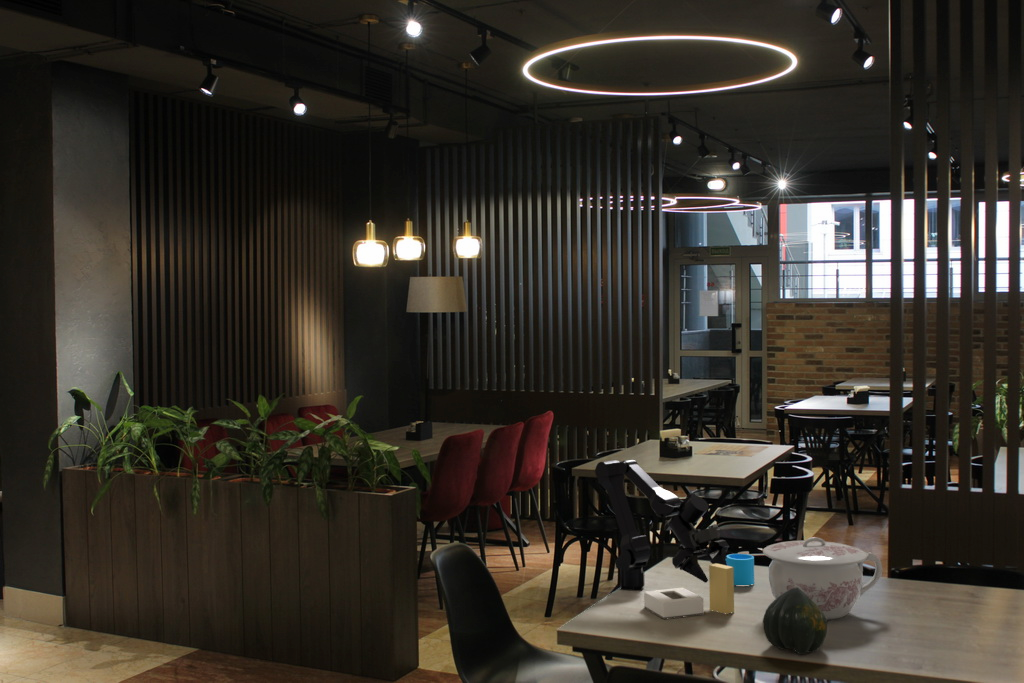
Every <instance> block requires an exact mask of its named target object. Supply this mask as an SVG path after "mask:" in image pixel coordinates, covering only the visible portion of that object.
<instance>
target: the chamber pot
mask: <svg viewBox="0 0 1024 683" xmlns="http://www.w3.org/2000/svg"><path fill="white" fill-rule="evenodd" d="M762 554H763V555H765V556H766V557H768V558H769V559H771V561H770V564H769V566H768V581H769V585H770V589H771V594H772V595H773V597H774V600H775V599H776V598H777V597H779V596H780V595H782V594H783V593H785V592H786V591H788V590H790V589H792V588H796V587H798V588H799V589H801V590H802V591H803V592H804V593H805V594H806V595H807V596H808V597H809V598H810V599H811V600H812V601H813V602H814V603H815V604H816V605H817V606H818V607H819V608H820V609H821V610H822V612H823V613H824V615H825V617H826V621H830V620H836V619H840V618H842V617H846V616H847V615H848V614H849V613H850V612H851V611H852V610H853V608H854V606H855V605H856V603H857V602H858V600H859V599H860V598H861V597H862V596H863V595H864V594H865V593H866V592H868V591H869V590H870V589H871V588H873V587H874V586H875V585H876V584H877V583H878V582H879V580H880V579H881V577H882V574H883V564H882V562H881V560H880V558H879V557H878V556H877V554H875V553H872V552H866V550H865V551H864V550H862V549H861V548H858V547H855V546H852V545H848V544H845V543H840V542H833V541H825V539H823V538H820V537H815V536H814V537H809V538H807V539H806V540H790V541H789V540H788V541H781V542H777V543H773V544H770V545H766V547H764V548H763V549H762ZM867 561H871V562H874V567H875V568H874V569H875V571H874V574H873V576H872V577H871V578H870V579H869V580H868V582H866V583H865V584H863V583H864V582H863V580H864V579H863V578H864V577H863V575H864V574H863V572H864V567H863V566H864V563H865V562H867Z"/></svg>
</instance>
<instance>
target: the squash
mask: <svg viewBox="0 0 1024 683" xmlns="http://www.w3.org/2000/svg"><path fill="white" fill-rule="evenodd" d="M762 620H763V621H762V626H763V631H764V635H765V638H766V639H767V641H769V643H770V645H772V646H773V647H774V648H777V649H781V648H783V649H790V650H791V649H794V651H795V652H796V653H797V654H799V655H804V654H806V653H807V652H809V653H811V652H815V651H817V650H818V649H820V647H821V646H822V645H823V643H824V641H825V639H826V635H827V631H828V630H827V629H828V625H827V624H828V623H827V621H828V620H826V617H825V615H824V613H823V612H822V610H821V609H820V608H819V607H818V606H817V605H816V604H815V603H814V602H813V601H812V600H811V599H810V598H809V597H808V596H807V595H806V594H805V593H804V592H803V591H802V590H801V589H799V588H798V587H796V588H792V589H790V590H788V591H786V592H785V593H783V594H782V595H780V596H779V597H777V598H776V599H775V598H774V599H773V601H772V602H771V603H770V604H769V605H768V606H767V608H766V610H765V613H764V616H763V619H762Z"/></svg>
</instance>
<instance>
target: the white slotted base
mask: <svg viewBox="0 0 1024 683" xmlns="http://www.w3.org/2000/svg"><path fill="white" fill-rule="evenodd" d="M643 594H644V595H643V602H644V603H643V605H644V607H643V608H644V609H646V610H647V609H648V610H647V611H649V612H650V613H652V612H653V613H652V614H654V615H656V616H657V615H658V616H657V617H659V616H660V617H659V618H661V619H662V618H663V620H668V619H667V618H671V619H675V618H674V617H680V618H684V617H683V616H688V617H694V616H693V615H697V616H703V615H702V614H705V613H704V610H705V608H704V607H705V606H704V597H702V596H700V595H698V594H697V593H694V592H692V591H690V590H688V589H686V588H685V587H677V588H667V589H666V588H665V589H657V590H656V589H655V590H647V591H643Z"/></svg>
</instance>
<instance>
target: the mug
mask: <svg viewBox="0 0 1024 683" xmlns="http://www.w3.org/2000/svg"><path fill="white" fill-rule="evenodd" d="M725 559H726V563H727V566H731V567H733V569H734V585H751V584H754V585H755V556H753V555H751V554H747V553H731V554H727V555H726V558H725Z"/></svg>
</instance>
